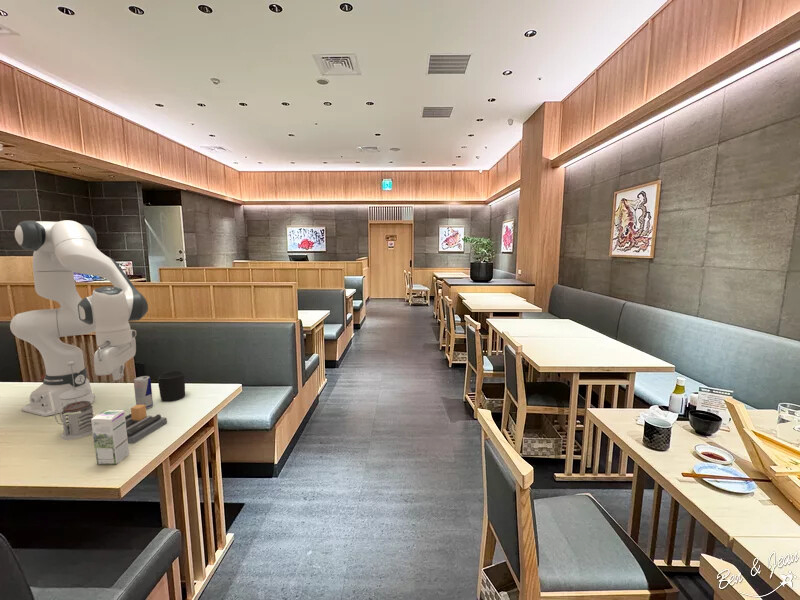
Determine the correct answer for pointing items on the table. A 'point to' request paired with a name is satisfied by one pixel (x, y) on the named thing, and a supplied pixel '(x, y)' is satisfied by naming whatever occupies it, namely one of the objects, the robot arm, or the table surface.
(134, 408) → the lever
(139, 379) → the energy drink
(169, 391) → the pen holder
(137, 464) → the table surface
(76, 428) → the french press
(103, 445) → the syrup box
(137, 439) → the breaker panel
